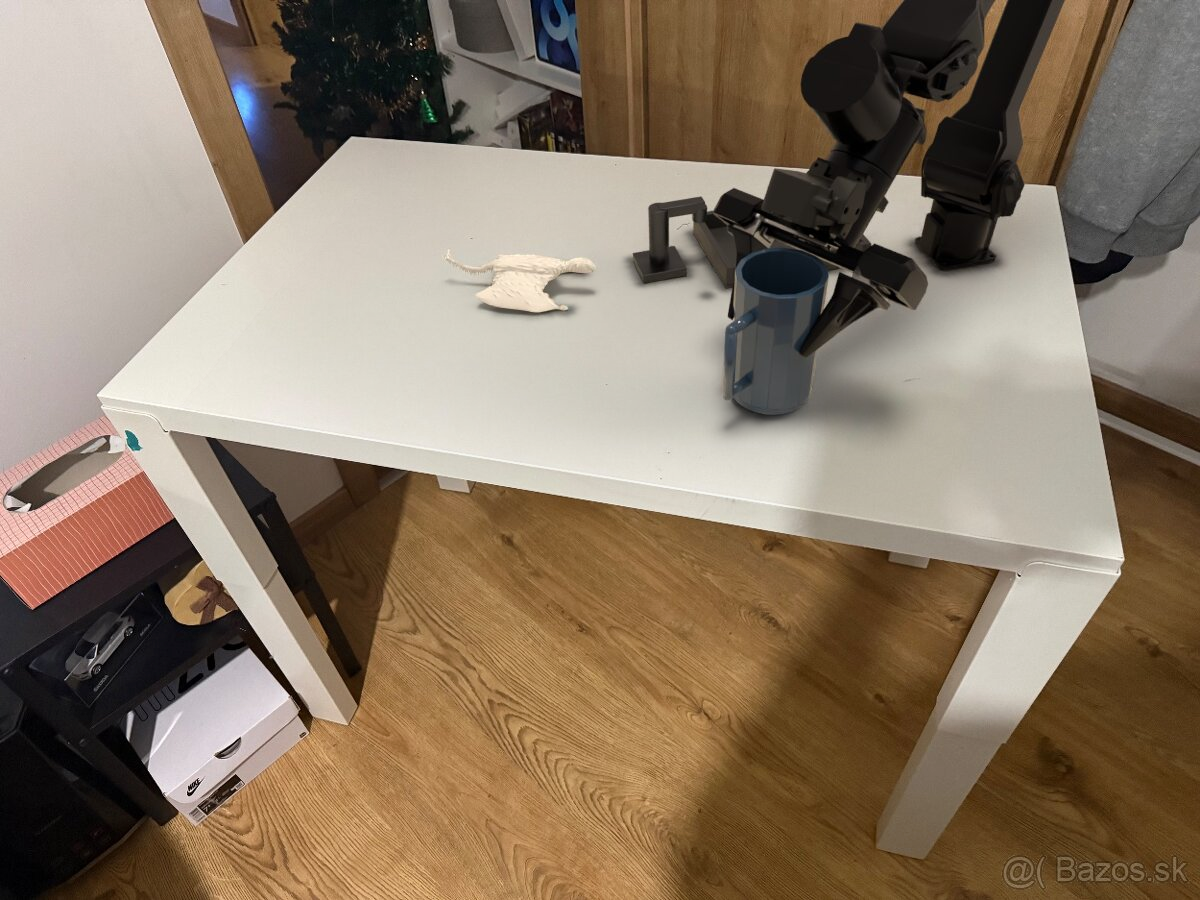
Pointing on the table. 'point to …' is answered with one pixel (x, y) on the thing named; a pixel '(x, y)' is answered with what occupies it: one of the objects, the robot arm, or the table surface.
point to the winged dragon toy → (524, 280)
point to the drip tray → (724, 250)
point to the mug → (773, 329)
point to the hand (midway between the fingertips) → (765, 337)
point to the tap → (666, 239)
